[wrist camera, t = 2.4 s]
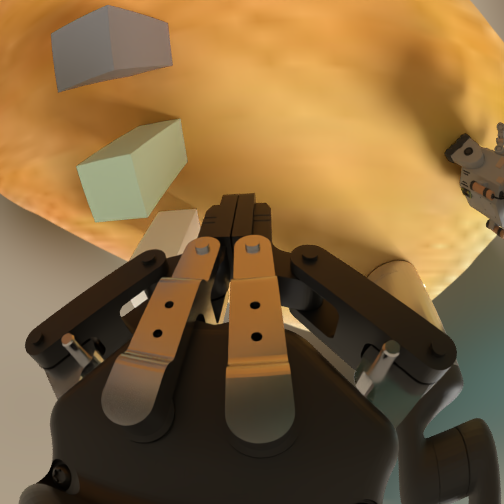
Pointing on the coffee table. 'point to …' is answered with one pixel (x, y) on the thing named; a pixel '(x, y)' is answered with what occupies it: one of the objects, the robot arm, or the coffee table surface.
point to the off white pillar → (168, 237)
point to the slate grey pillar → (108, 47)
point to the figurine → (482, 177)
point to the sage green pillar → (133, 171)
